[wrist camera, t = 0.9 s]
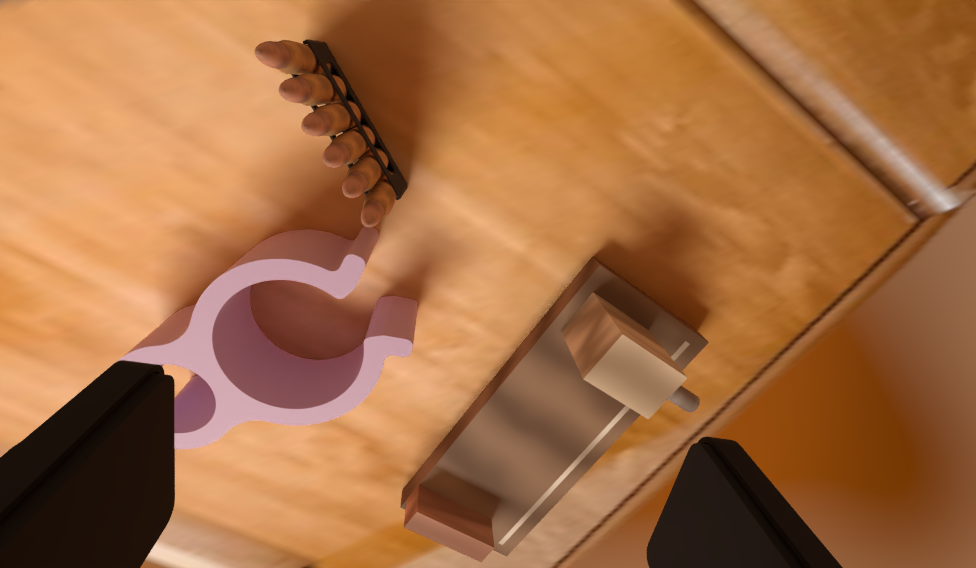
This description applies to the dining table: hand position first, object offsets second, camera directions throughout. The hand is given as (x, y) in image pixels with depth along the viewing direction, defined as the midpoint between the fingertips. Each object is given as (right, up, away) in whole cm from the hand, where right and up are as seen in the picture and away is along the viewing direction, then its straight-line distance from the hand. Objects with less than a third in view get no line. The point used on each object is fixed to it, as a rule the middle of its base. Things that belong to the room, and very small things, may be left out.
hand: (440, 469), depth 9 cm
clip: (-15, +1, +31) cm, 34 cm away
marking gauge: (+12, -1, +31) cm, 34 cm away
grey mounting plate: (+6, -8, +36) cm, 37 cm away
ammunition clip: (-8, +14, +26) cm, 31 cm away
